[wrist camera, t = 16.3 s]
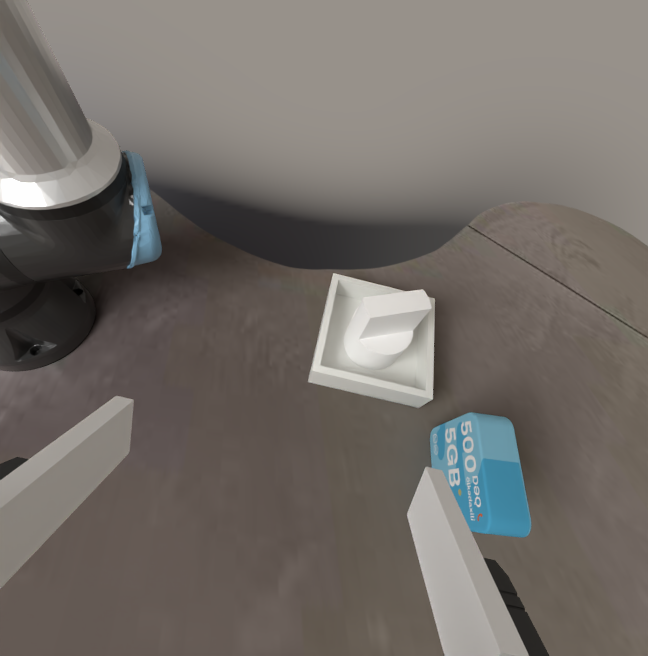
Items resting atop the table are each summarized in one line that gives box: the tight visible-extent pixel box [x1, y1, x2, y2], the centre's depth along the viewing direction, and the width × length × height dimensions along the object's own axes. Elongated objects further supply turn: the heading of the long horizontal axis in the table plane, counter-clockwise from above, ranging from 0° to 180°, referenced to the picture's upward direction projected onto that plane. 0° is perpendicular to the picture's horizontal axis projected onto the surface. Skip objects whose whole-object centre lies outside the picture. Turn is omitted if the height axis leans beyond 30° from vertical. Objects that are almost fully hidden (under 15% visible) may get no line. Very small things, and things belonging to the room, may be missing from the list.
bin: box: [308, 273, 435, 408], centre depth 49 cm, size 17×17×5 cm
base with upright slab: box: [344, 289, 432, 370], centre depth 45 cm, size 9×9×12 cm
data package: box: [430, 412, 531, 537], centre depth 38 cm, size 12×4×12 cm, turn 174°
